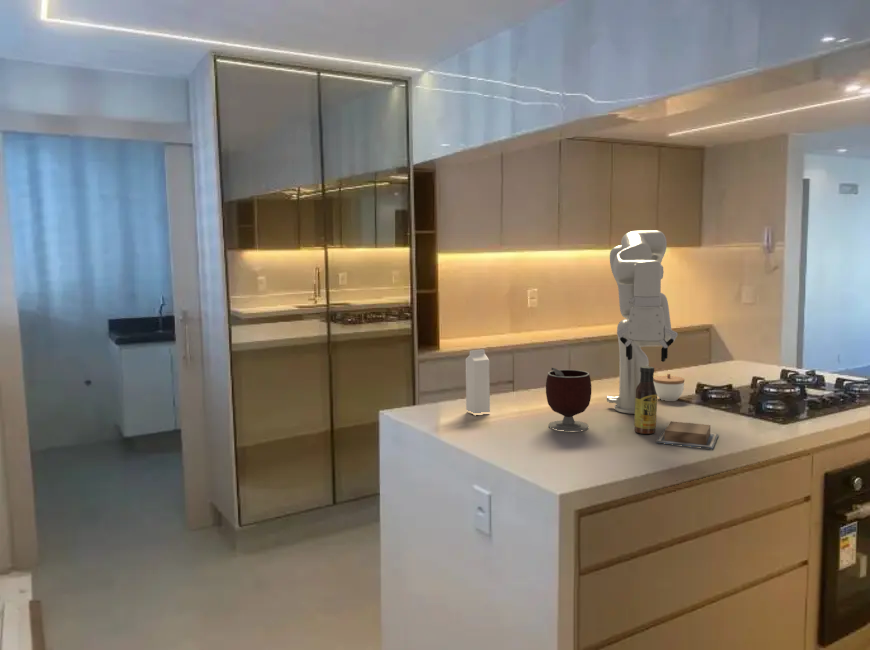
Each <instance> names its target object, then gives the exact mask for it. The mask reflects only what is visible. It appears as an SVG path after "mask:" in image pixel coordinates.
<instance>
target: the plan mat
mask: <svg viewBox="0 0 870 650" xmlns="http://www.w3.org/2000/svg"><path fill="white" fill-rule="evenodd" d="M718 438H719V433H711V424H703V423H693V422H682V421H674V420H673V421H670V422H669V423H668V425H667V426H666V428H664V429H663V431H662V432H661V434H660V435H659V437H658V438H657V439H656V441H655V444H656V443H665V444H673V445H672V446H674V445H682V446H681V447H683V446H691V447H690V448H692V447H701V448H709V449H708V450H710V449H713V450H714V448H715V446H716V443H717V441H718ZM716 440H717V441H716ZM715 442H716V443H715ZM714 445H715V446H714ZM713 447H714V448H713ZM701 448H700V449H701Z"/></svg>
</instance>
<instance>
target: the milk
mask: <svg viewBox="0 0 870 650" xmlns="http://www.w3.org/2000/svg"><path fill="white" fill-rule="evenodd" d="M490 388H491V387H490V359H489V357H488V356H487V354H486V351H485V348H481V349H474V350H473V349H471V350H469V355H468V356H467V357H466V358H465V405H466V406H465V407H466V408H465V409H466V410H468V411H471V412H473V413H481V412H490V413H491V409H490V408H491V402H490V401H491V399H490V398H491V395H490V394H491V392H490V391H491V390H490Z"/></svg>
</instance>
